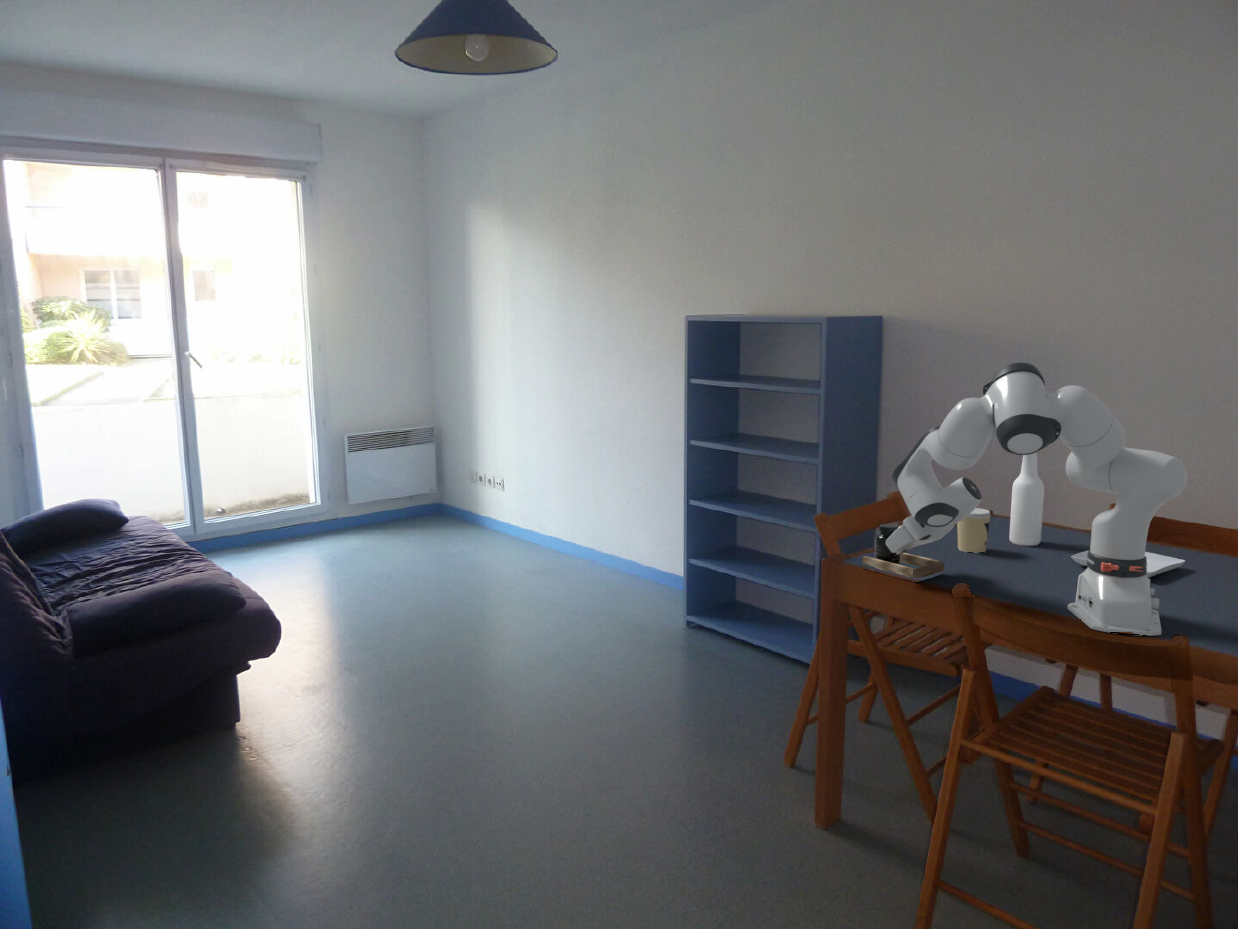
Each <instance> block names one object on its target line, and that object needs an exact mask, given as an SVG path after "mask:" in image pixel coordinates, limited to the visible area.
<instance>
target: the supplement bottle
mask: <svg viewBox="0 0 1238 929" xmlns="http://www.w3.org/2000/svg"><path fill="white" fill-rule="evenodd" d="M898 528H899V527H898V525H895V524H890V523H884V524H883V523H882V524H880V525H879V529H878V534H877V535H876V536H875V539H874V557H873V558H875V559H879V560H883V561H887V562H891V563H895V564H899V565H900V554H898V555H897V554H896V553H892V552H891V551H890V550H889V548H888V547H887V545H886V540H887V539H888V538H889V537H890V536H891V534H892V533H893V532H894V531H895V530H897V529H898Z"/></svg>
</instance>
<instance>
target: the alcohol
mask: <svg viewBox="0 0 1238 929" xmlns="http://www.w3.org/2000/svg"><path fill="white" fill-rule="evenodd" d="M1021 462H1022V463H1021V468H1020V472H1019V475H1018V476H1017V478H1016V479H1015V480H1014V481H1013V484H1012V487H1011V504H1010V506H1011V507H1010V517H1009V518H1010V519H1009V520H1010V521H1009V523H1010V524H1009V535H1008V537H1009V538H1008V540H1009V541H1010V543H1011V542H1012V543H1011V544H1014V545H1017V546H1024V547H1035V546H1038V545H1040V543H1041V542H1042V526H1043V515H1044V514H1043V512H1044V511H1043V510H1044V500H1045V499H1044V498H1045V497H1044V496H1045V485H1044V482H1043V480H1042V479H1041V478H1040V477H1039V474H1038V452H1036V453H1033V454H1029V455H1022V461H1021Z"/></svg>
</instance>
